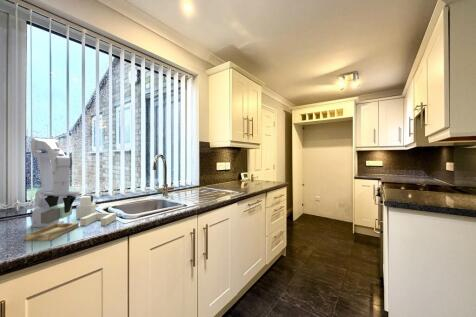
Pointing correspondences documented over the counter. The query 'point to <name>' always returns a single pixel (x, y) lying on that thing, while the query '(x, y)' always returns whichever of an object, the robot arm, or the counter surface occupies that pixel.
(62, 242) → the counter surface
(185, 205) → the counter surface
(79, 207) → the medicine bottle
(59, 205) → the gray green block
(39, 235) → the tray
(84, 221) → the bay
